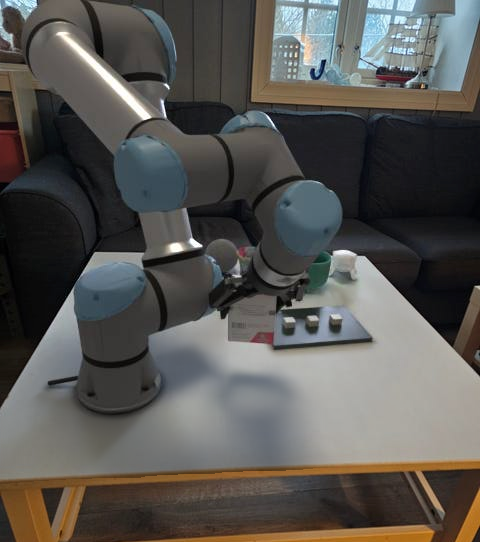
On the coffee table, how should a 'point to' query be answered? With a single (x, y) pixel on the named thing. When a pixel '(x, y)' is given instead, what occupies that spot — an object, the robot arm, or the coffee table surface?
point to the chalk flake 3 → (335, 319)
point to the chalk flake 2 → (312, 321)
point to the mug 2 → (319, 271)
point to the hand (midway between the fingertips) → (247, 310)
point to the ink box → (252, 319)
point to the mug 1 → (245, 257)
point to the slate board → (317, 328)
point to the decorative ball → (223, 254)
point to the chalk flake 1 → (289, 322)
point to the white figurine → (343, 262)
